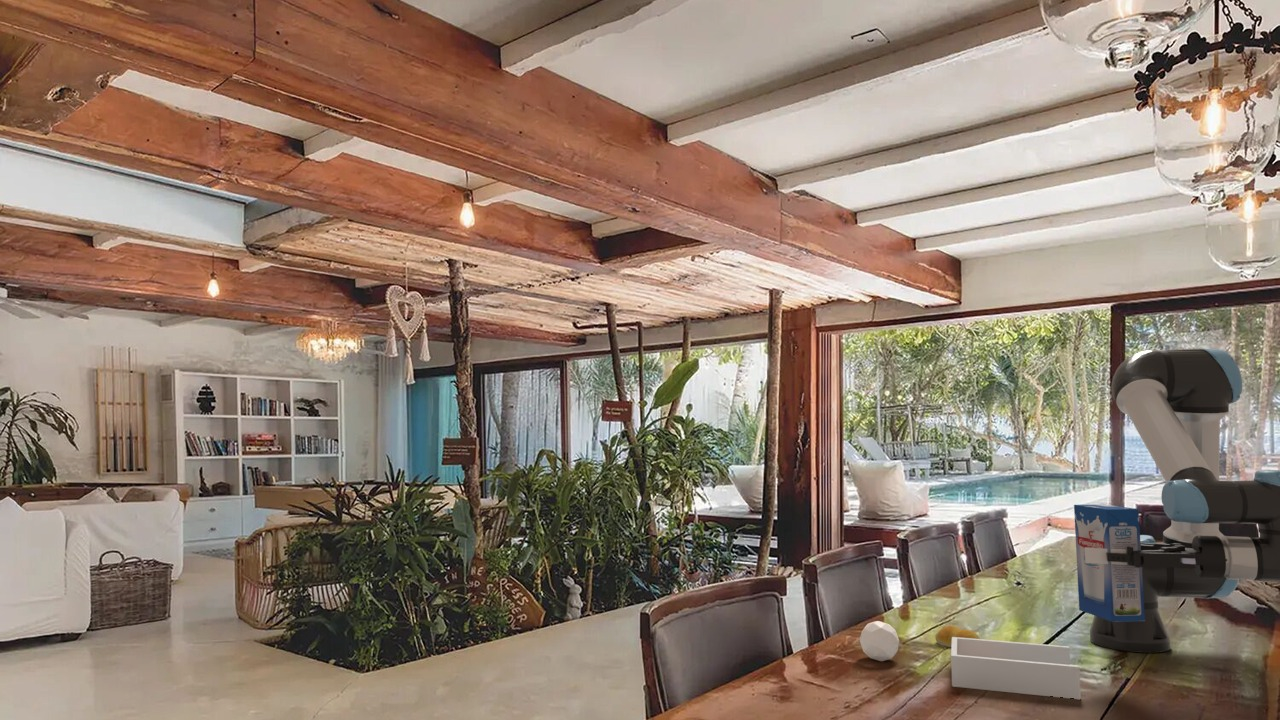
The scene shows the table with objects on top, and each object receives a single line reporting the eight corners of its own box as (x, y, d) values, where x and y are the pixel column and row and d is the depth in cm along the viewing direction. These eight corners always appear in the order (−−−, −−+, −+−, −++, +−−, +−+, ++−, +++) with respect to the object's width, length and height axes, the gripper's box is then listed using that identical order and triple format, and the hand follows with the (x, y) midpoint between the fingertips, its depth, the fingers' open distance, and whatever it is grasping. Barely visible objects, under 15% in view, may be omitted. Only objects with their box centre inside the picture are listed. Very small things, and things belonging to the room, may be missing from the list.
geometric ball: (886, 676, 166) (890, 650, 162) (851, 655, 171) (853, 629, 167) (904, 651, 171) (908, 625, 167) (869, 632, 176) (872, 606, 172)
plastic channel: (1070, 676, 157) (1068, 646, 157) (1080, 699, 143) (1079, 667, 144) (952, 664, 165) (951, 636, 165) (952, 686, 151) (950, 655, 151)
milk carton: (1079, 609, 158) (1073, 504, 159) (1110, 609, 158) (1104, 504, 160) (1112, 621, 148) (1106, 509, 149) (1145, 621, 148) (1138, 508, 150)
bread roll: (969, 653, 174) (968, 634, 175) (930, 645, 181) (930, 626, 181) (988, 646, 180) (987, 627, 180) (950, 638, 186) (949, 620, 187)
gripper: (1243, 589, 137) (1091, 581, 145) (1205, 569, 157) (1075, 562, 165) (1239, 544, 137) (1089, 538, 145) (1203, 529, 158) (1073, 525, 166)
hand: (1081, 551), depth 155 cm, fingers closed on milk carton, 10 cm apart
